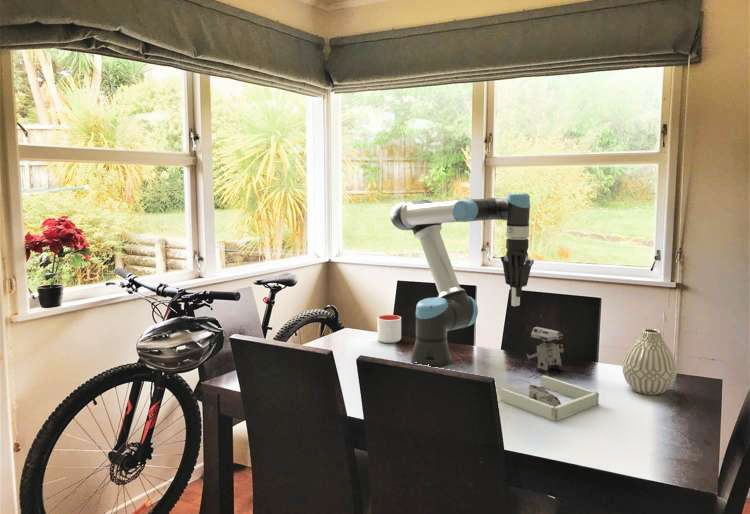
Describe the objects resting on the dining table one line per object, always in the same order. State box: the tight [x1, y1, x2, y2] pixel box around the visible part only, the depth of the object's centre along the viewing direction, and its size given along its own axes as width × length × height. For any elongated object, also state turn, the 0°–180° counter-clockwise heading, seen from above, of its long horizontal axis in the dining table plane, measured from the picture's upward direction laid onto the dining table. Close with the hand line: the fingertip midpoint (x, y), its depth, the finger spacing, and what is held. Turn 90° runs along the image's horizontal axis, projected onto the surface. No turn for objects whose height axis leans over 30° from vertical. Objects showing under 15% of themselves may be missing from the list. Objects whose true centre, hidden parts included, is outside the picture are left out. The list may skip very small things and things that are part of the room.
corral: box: [499, 374, 600, 422], centre depth 186 cm, size 20×21×4 cm
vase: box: [622, 328, 678, 396], centre depth 194 cm, size 16×16×20 cm
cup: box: [377, 314, 402, 344], centre depth 255 cm, size 10×10×10 cm
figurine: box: [523, 326, 565, 375], centre depth 216 cm, size 9×12×15 cm
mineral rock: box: [528, 384, 562, 407], centre depth 184 cm, size 15×8×4 cm, turn 178°
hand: (515, 305), depth 210 cm, fingers closed
